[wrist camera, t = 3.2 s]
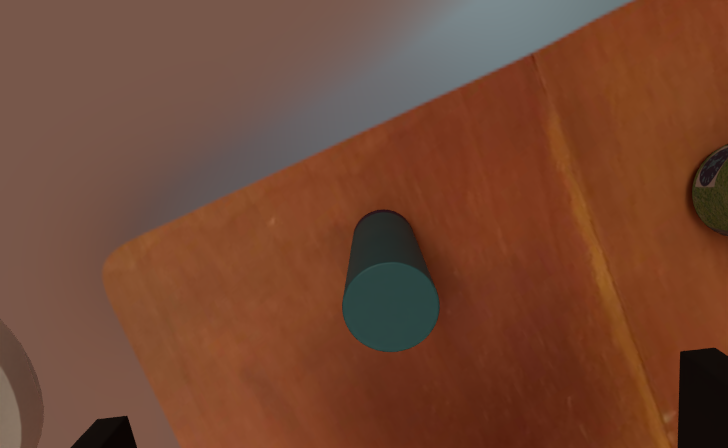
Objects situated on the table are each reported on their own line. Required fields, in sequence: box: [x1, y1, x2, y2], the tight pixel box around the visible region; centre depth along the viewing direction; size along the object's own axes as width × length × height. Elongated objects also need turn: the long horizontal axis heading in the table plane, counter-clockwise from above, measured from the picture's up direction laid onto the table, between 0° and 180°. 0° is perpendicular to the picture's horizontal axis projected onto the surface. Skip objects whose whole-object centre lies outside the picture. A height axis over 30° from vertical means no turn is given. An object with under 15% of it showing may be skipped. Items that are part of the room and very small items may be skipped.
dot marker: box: [342, 210, 440, 352], centre depth 23 cm, size 4×4×11 cm
